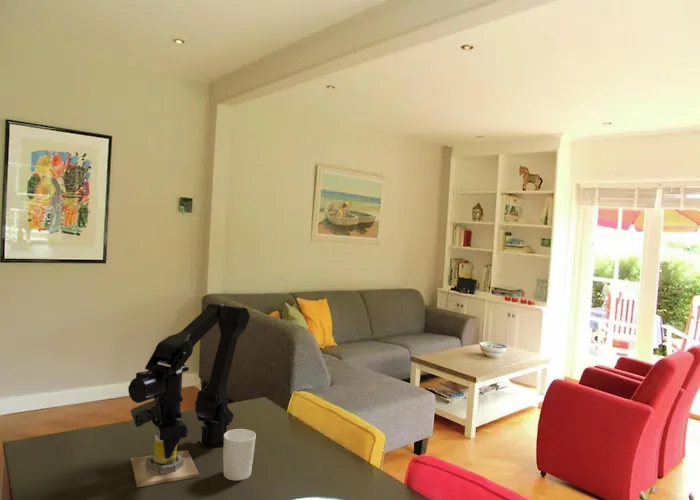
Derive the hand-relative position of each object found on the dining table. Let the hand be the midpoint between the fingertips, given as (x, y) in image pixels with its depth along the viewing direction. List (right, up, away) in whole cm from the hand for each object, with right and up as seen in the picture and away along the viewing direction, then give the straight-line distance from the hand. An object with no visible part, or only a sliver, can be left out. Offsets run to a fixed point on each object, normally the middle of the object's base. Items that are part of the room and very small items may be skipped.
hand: (165, 453), depth 124 cm
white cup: (+18, -6, 0) cm, 19 cm away
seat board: (0, -4, 0) cm, 4 cm away
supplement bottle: (0, -3, 0) cm, 3 cm away
